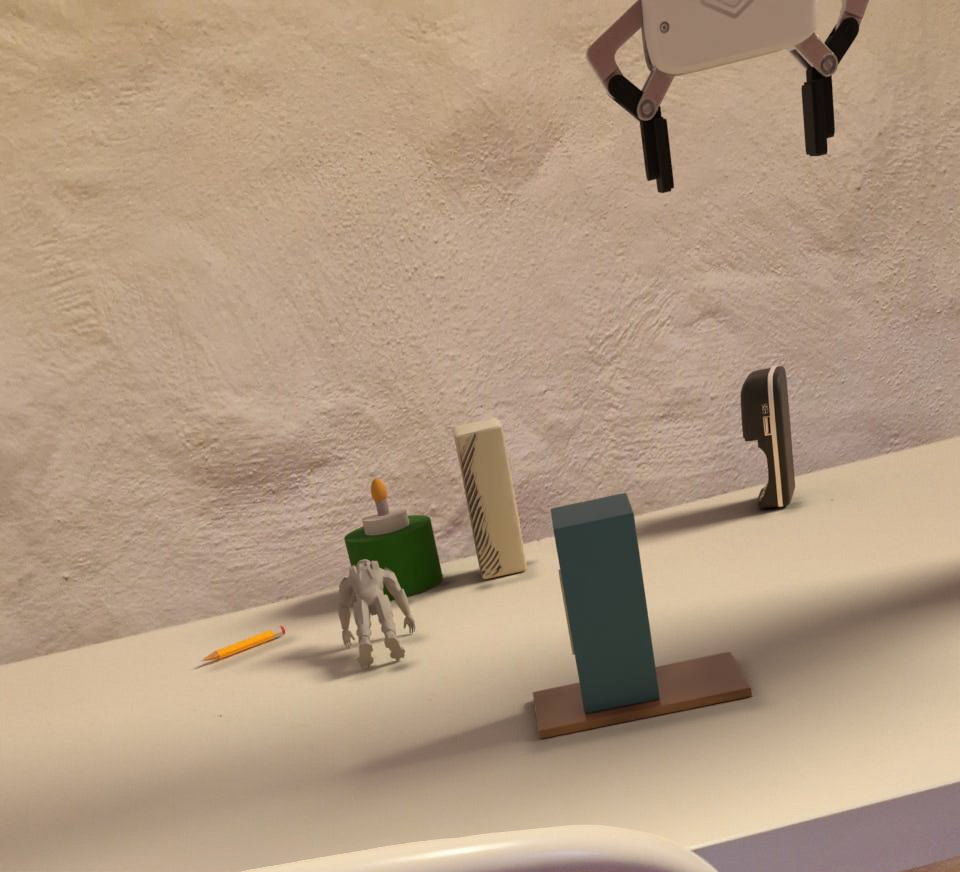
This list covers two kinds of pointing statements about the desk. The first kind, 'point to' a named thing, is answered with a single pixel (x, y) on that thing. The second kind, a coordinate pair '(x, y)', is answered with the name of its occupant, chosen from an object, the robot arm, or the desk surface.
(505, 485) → the box
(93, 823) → the desk surface
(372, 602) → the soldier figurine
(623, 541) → the tissue box
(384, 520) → the candle
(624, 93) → the robot arm
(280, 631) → the pencil
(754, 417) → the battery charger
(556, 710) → the brown wooden plank
